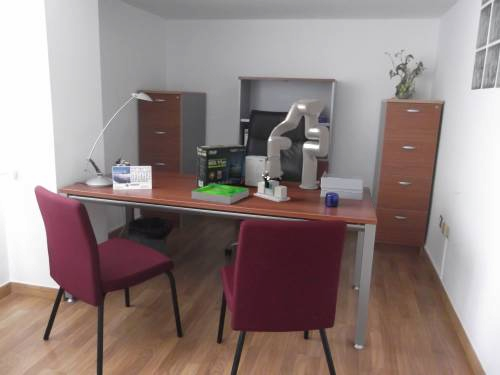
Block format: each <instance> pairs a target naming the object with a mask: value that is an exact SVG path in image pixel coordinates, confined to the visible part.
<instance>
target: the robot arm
mask: <svg viewBox="0 0 500 375" xmlns="http://www.w3.org/2000/svg"><path fill="white" fill-rule="evenodd" d="M324 107H325V103H324V101H323V100H322V99H319V98H318V99H317V98H302V99H299V100H298V101H295V102H293V103H292V104H291V107H290V109H289V110H288V112H287V114H286V117H285V119H284V120H283V121H281V123H279V124H277V126H275V127H274V128H273V130H272V131H271V133H270V135H269V137H268V139H267V152H266V154H267V156H266V157H267V161H266V164H265V172H264V174H263V175H262V177H263V180H264V181H265V188H269V180H271V179H275V181H279V186H280V185H281V180H282V178H283V175H284V171H283V170H282V166H281V164H282V163H281V150H283V151H284V150H289V149H291V146H292V140H291V138H289V137H287V136H281V135H283V134H285V133H286V132H289V131H292V130H295V129H296V128H297V127H298V125H299V123H300V121H301V119H302V117H303V116H304V136H305V138H306V139H307V141H305V142H303V144H302V148H301V149H302V172H301V184H300V185H299V186H298V188H301V189H303V190H317V189H318V188H319V187H318V185H319V184H320V183H321V182H320V180H317V170H318V160H317V157H320V158H324V157H327V155H328V153H329V149H330V148H329V145H330V143H329V142H330V131H329V128H328V127H327V125H321V124H320V125H319V116H318V115H319V114H321V112H323V111H324ZM311 140H312V141H311ZM313 140H314V141H313ZM267 178H268V179H267Z"/></svg>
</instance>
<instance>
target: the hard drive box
mask: <svg viewBox="0 0 500 375" xmlns="http://www.w3.org/2000/svg"><path fill="white" fill-rule="evenodd" d="M266 161H267V156H264V155H263V156H262V155H246V156H245V183H244V185H245V186H251V187H258V182H265V181H264V180H263V177H262V175H263V174H264V172H265V164H266ZM267 179H268V178H267Z"/></svg>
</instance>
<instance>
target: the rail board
mask: <svg viewBox="0 0 500 375" xmlns="http://www.w3.org/2000/svg"><path fill="white" fill-rule="evenodd" d="M287 189H288V187H287V186H285V185H281V184H280V186H275V194H274V196H272V195H268V194H266V188H265V182H258V186H257V192H256V193H253V197H258V198H263V199H265V200H269V201H273V202H278V203H281V202H285V201H291V197H289V196H287V194H288V193H287V192H288V190H287Z"/></svg>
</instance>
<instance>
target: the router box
mask: <svg viewBox="0 0 500 375" xmlns="http://www.w3.org/2000/svg"><path fill="white" fill-rule="evenodd" d="M196 149H197V151H196V152H197V153H196V182H195V183H196V187H197V188H202V187H205V186H208V185H211V184H218V185H226V186H236V185H242V184H244V185H245V156H247V146H246V145H243V144H242V145H241V144H227V145H226V144H225V145H222V144H221V145H205V146H197V147H196Z"/></svg>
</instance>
